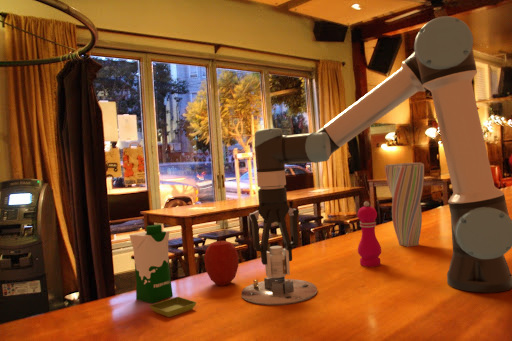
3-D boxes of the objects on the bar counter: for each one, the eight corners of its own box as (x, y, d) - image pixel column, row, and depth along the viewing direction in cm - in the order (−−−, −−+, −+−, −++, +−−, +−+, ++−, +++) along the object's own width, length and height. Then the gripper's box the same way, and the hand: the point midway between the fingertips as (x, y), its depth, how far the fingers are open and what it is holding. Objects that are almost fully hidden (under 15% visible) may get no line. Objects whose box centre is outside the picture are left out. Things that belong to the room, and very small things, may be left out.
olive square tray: (148, 313, 112) (148, 305, 112) (178, 304, 118) (178, 296, 118) (167, 321, 106) (167, 312, 106) (198, 310, 112) (197, 302, 112)
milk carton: (151, 305, 117) (145, 228, 117) (131, 300, 123) (125, 227, 122) (177, 295, 124) (172, 223, 123) (156, 291, 130) (151, 222, 129)
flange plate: (329, 297, 113) (328, 283, 113) (252, 310, 108) (251, 295, 108) (300, 278, 133) (300, 266, 133) (234, 288, 127) (233, 275, 127)
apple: (246, 284, 131) (243, 236, 130) (214, 291, 126) (211, 241, 125) (231, 277, 140) (227, 232, 139) (200, 283, 135) (197, 237, 134)
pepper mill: (383, 266, 139) (379, 202, 138) (359, 267, 140) (354, 203, 140) (381, 261, 146) (377, 199, 145) (358, 261, 147) (354, 200, 147)
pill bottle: (288, 276, 119) (286, 247, 118) (272, 279, 118) (270, 249, 117) (283, 272, 123) (281, 244, 123) (267, 275, 122) (265, 246, 122)
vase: (436, 245, 163) (431, 162, 162) (406, 250, 158) (401, 164, 157) (410, 239, 176) (406, 162, 175) (382, 244, 171) (377, 165, 170)
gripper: (297, 184, 125) (303, 267, 126) (236, 189, 121) (242, 276, 122) (308, 185, 118) (313, 273, 119) (243, 191, 114) (249, 283, 114)
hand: (277, 274), depth 120 cm, fingers closed on pill bottle, 4 cm apart
